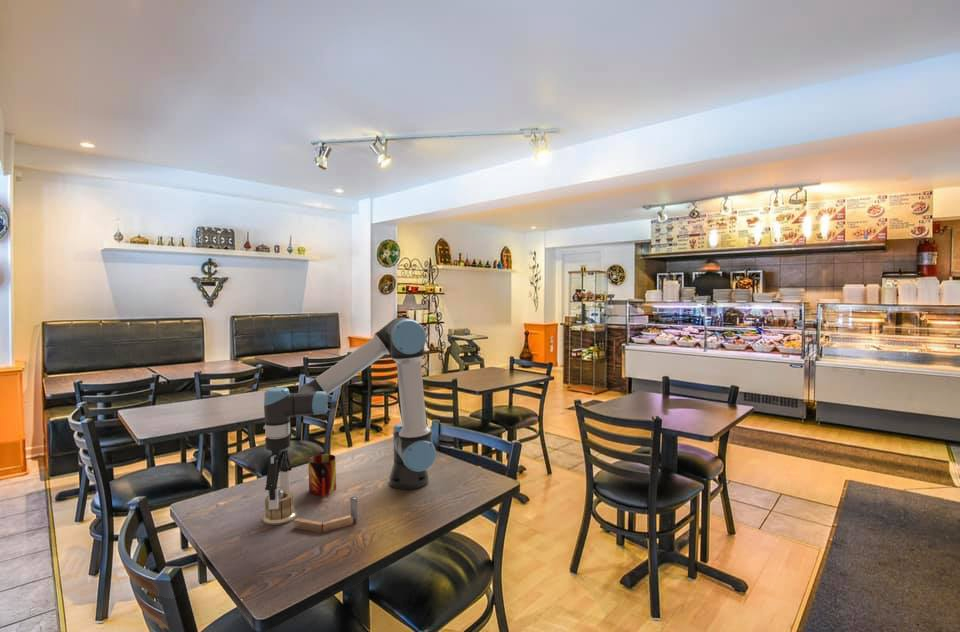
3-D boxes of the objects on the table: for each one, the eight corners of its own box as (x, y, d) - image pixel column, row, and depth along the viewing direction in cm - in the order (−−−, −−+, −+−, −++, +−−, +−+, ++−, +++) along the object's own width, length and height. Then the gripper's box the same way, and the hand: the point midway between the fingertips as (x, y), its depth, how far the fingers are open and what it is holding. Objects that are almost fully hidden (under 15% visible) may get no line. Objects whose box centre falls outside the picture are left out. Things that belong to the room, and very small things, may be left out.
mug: (323, 501, 168) (322, 468, 167) (304, 490, 177) (303, 459, 176) (347, 492, 175) (346, 460, 174) (327, 482, 184) (327, 452, 183)
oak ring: (295, 507, 160) (294, 490, 160) (289, 519, 152) (288, 500, 152) (270, 509, 159) (270, 492, 158) (263, 521, 151) (262, 502, 151)
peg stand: (299, 509, 161) (298, 483, 161) (292, 524, 151) (291, 496, 151) (268, 511, 160) (267, 485, 159) (259, 526, 150) (258, 498, 149)
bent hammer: (357, 520, 153) (357, 496, 153) (355, 529, 147) (355, 504, 147) (295, 525, 150) (294, 500, 150) (290, 534, 145) (289, 509, 144)
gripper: (276, 425, 166) (278, 484, 167) (253, 448, 141) (255, 518, 142) (298, 424, 167) (300, 483, 168) (279, 447, 142) (281, 516, 143)
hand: (279, 499), depth 155 cm, fingers open, 13 cm apart
